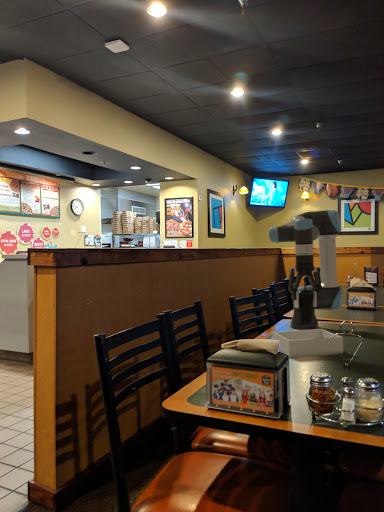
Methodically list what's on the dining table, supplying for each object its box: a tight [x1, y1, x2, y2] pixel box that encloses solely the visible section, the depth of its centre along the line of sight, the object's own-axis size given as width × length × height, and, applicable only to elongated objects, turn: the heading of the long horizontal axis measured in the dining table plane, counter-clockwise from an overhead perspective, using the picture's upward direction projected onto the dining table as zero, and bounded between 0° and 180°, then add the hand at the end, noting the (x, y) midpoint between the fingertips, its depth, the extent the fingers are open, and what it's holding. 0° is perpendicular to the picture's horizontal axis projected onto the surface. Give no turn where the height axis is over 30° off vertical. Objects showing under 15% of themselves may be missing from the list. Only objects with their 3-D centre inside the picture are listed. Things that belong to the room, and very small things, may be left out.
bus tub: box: [272, 328, 344, 358], centre depth 174 cm, size 24×18×7 cm
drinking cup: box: [297, 276, 314, 324], centre depth 174 cm, size 8×8×20 cm
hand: (305, 306), depth 174 cm, fingers closed on drinking cup, 7 cm apart
